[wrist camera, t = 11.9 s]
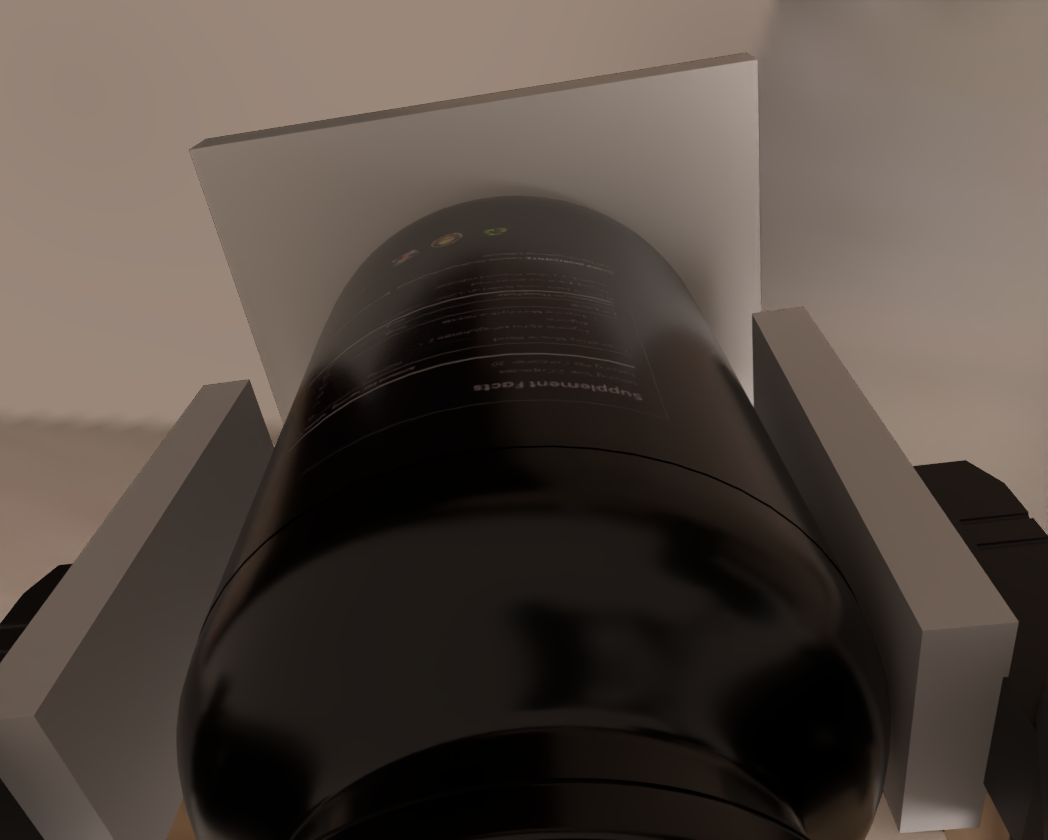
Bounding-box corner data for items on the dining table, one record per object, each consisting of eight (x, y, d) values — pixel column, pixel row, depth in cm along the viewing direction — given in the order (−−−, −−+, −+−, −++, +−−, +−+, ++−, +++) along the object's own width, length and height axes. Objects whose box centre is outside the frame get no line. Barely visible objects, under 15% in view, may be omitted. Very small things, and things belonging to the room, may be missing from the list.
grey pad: (206, 138, 14) (188, 150, 14) (746, 52, 13) (757, 59, 13) (343, 552, 19) (336, 576, 18) (754, 507, 18) (763, 530, 17)
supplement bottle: (735, 467, 17) (1125, 1383, 6) (408, 553, 17) (288, 1480, 7) (659, 120, 13) (1261, 917, 3) (255, 251, 14) (-399, 1214, 4)
